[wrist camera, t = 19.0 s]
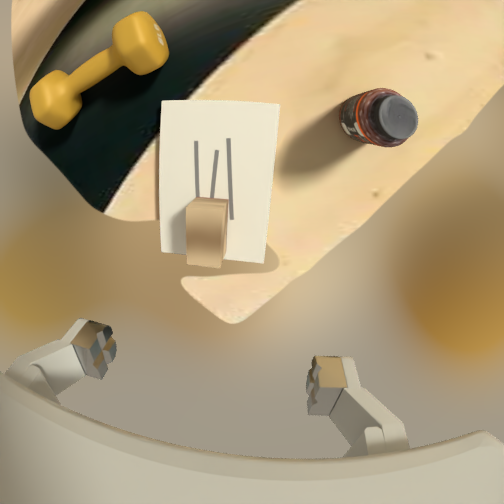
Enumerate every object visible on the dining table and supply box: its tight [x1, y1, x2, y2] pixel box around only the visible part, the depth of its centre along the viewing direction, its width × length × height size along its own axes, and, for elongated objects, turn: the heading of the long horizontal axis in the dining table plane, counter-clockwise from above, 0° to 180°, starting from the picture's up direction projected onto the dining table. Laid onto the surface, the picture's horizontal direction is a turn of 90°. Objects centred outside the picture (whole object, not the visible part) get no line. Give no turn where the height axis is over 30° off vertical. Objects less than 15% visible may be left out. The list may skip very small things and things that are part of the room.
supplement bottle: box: [339, 88, 418, 147], centre depth 25 cm, size 6×6×11 cm
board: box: [159, 100, 280, 263], centre depth 34 cm, size 20×14×2 cm
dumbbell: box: [30, 11, 169, 130], centre depth 25 cm, size 19×9×8 cm, turn 108°
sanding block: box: [186, 197, 229, 268], centre depth 33 cm, size 7×4×4 cm, turn 176°
